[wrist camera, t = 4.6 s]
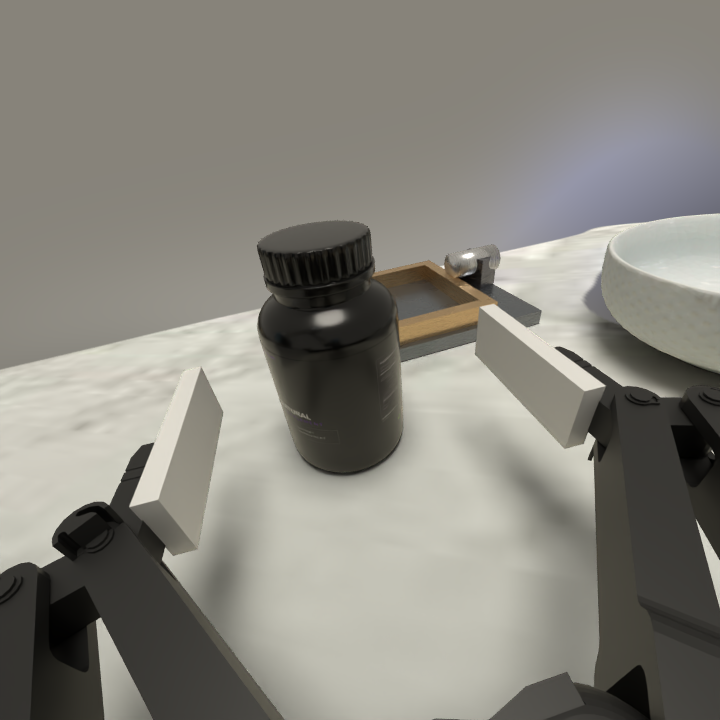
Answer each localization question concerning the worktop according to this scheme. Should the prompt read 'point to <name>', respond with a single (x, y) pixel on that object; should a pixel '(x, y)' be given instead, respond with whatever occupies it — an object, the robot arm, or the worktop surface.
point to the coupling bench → (449, 300)
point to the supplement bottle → (332, 344)
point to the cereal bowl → (668, 286)
